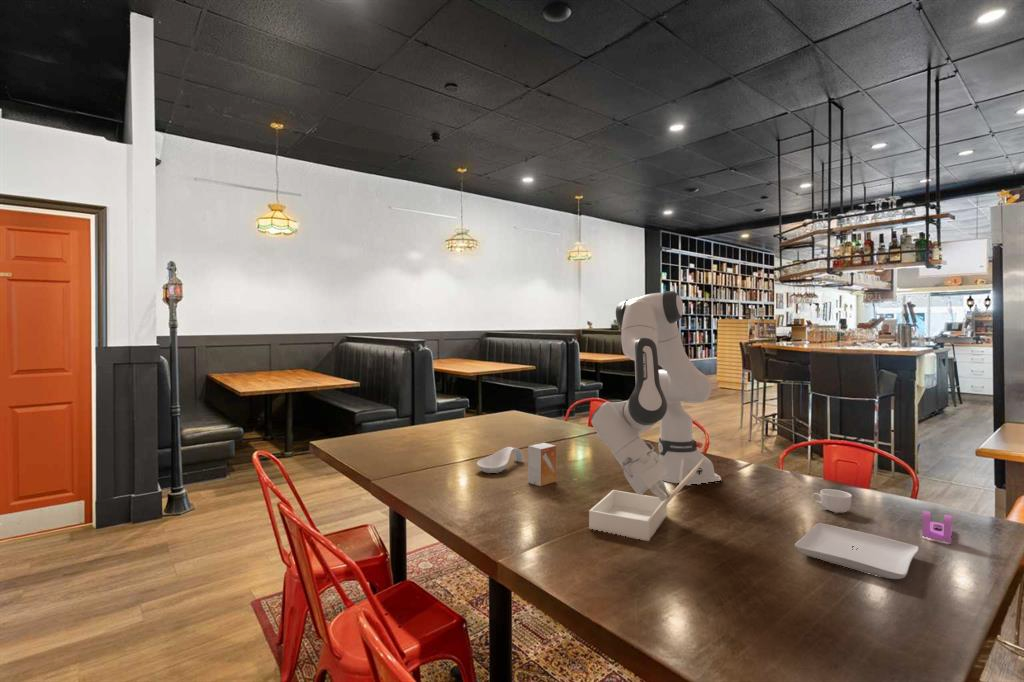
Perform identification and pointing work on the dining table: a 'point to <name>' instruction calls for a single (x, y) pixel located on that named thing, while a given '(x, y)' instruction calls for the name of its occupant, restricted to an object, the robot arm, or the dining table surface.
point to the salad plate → (858, 550)
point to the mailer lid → (678, 488)
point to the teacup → (834, 500)
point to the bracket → (947, 526)
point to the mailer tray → (627, 515)
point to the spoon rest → (499, 460)
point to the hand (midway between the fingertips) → (666, 498)
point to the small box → (541, 464)
